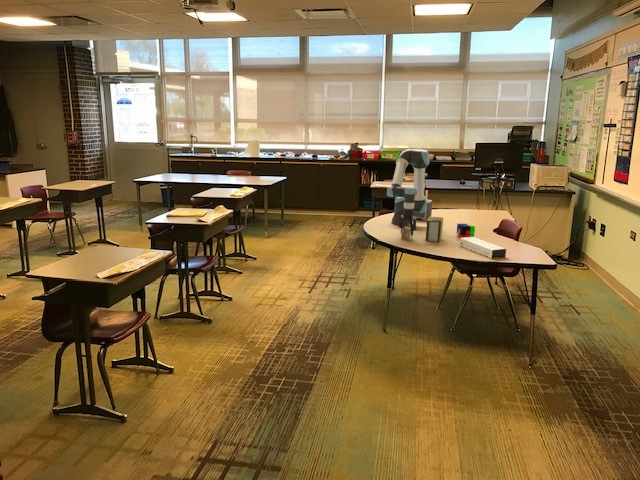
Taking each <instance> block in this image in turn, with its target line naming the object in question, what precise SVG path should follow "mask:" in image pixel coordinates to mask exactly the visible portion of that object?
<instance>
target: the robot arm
mask: <svg viewBox="0 0 640 480" xmlns="http://www.w3.org/2000/svg"><path fill="white" fill-rule="evenodd" d="M395 164H396V166H395V168H394V169H395V170H394V174H393V178H392V181H391V185H390V186H388V187H387V188H386V189H387V190H386V196H387V197H390V198H393V197H394V198H395V199H394V211H393V212H394V213H393V216H392V219H391V224H392V225H396V226H398V228H399V229H400V232H401V231H402V228H405V226H408V225H409V228H410V229H411V231H410V235H409V240H408V241H411V240H413V236H414V232H415V231H417V219H418V218H417V217H414V216H413V213H414V212H416V213H424V212H425V210H426V206H427V199H428V198H427V196H426V195H425V179H426V177H425V176H426V168H427V167H428V166H429V164H430V153H429V151H428V150H427V149H415V148H414V149H410V148H409V149H405V150H403V151H402V152H401V153H399V155H398V156H397V158H396V160H395ZM408 165H412V168H413V186H405V187H403V182H404V181H403V180H404V177H405V173H406V172H405V171H406V168H407V167H408ZM412 218H413V219H412ZM412 235H413V236H412Z"/></svg>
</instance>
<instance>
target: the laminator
mask: <svg viewBox="0 0 640 480" xmlns="http://www.w3.org/2000/svg"><path fill="white" fill-rule="evenodd" d="M461 246H462V248H464V249H466V248H467V250H469V251H471V250H472V252H474V251H475V252H474V253H476V252H478V253H477V254H479V253H481V254H483V255H482V256H484V255H486V256H489V257H491V258H490V259H495V258H494V257H499V258H506V255H507V254H506V253H507V248H504V247H501V246H499V245H497V244H493V243H490V242H488V241H486V240H483V239H480V238H478V237H475V236H474V237H465V238H459V247H461ZM481 254H480V255H481ZM486 256H485V257H486ZM489 257H488V258H489Z"/></svg>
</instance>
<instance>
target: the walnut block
mask: <svg viewBox="0 0 640 480" xmlns="http://www.w3.org/2000/svg"><path fill="white" fill-rule="evenodd" d="M410 231H411V229H410V227H407V226H406V227H405V226H404V228H402V231H401V230H400V239H401V240H406V241H410V240H409V235H410ZM413 236H414V234H413V235H412V237H413Z"/></svg>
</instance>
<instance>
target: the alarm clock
mask: <svg viewBox="0 0 640 480" xmlns="http://www.w3.org/2000/svg"><path fill="white" fill-rule="evenodd" d="M426 199H427V206H426V210H425V212H424V213H416V212H414V213H413V216H414V217H417V219H421V220H422V221H425V222H427V220H428V218H429V217H432V211H433V200H432V199H428V198H426ZM412 220H413V218H412Z"/></svg>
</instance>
